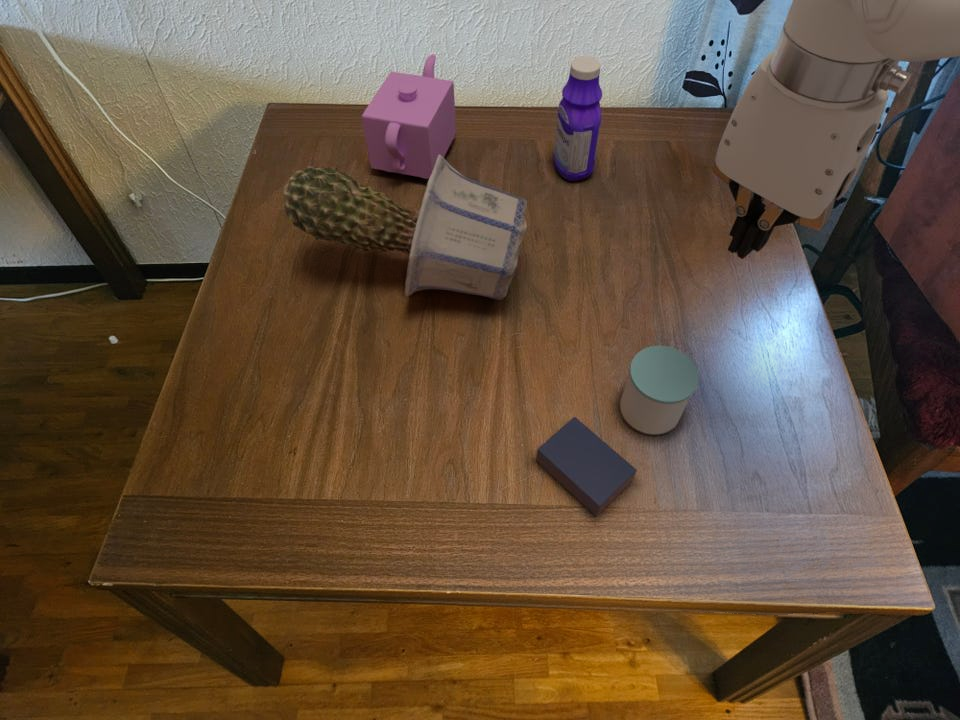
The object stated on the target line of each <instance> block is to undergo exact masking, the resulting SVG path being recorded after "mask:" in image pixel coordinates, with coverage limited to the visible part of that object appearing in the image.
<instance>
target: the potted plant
mask: <svg viewBox="0 0 960 720" xmlns="http://www.w3.org/2000/svg"><path fill="white" fill-rule="evenodd" d="M283 187H284V188H283V206H282V207H283V209H284V212H285V215H286V218H287V219H290V220H291V221H292V224H293V226H294V227H296V228H298V229H299V230H300V231H302V232H305V233H306V234H308V235H311V236H312V237H314V238H315V240H318V239H319V240H321V241H328V242H337V243H340V244H342V245H347V246H351V247H353V248H354V249H355V251H357V250H361V251H363V252H368V251H370V252H372V251H373V250H379V251H381V252H382V253H386V252H391V251H392V252H393V251H398V252H401V253H404V254H406V256H407V257H408V261H407V269H406V277H405V285H404V287H405V288H404V297H407V298H408V297H410V296H412V295H413V294H414V293H416V292H419V291H423V290H444V291H451V292H456V293H461V294H462V293H463V294H468V295H475V296H482V297H487V298H489V299H492V300H499V301H502V300H504V299H505V297H506V296H507V295H508V292H509V290H510V286H511V285H512V280H513V279H514V277H515V275H516V271H517V267H518V264H519V263H518V261H519V257H520V252H521V248H522V245H523V240H524V235H525V233H526V231H527V225H528V224H527V218H526V216H527V215H526V213H527V209H528V205H529V203H528V200H526V199H525V198H522V197H519V196H517V195H516V196H515V195H513V194H511V193H508V192H505V191H503V190H500V189H497V188H495V187H492V186H489V185H485V184H482V183H480V182H477V181H475V180H472V179H470V178H468V177H466V176H465V175H463V174H462V173H460V172H459V170H457V169H456V168H455V167H453V166H452V165H451V164H450V163H449V162H448V161H447V159H445V157H444V158H443V157H442V156H441V155H438V157H437V160H436V163H435V166H434V168H433V171H432V174H431V176H430V178H429V179H428V180H427V183H426V188H425V191H424V194H423V198H422V202H421V204H420V205H419V207H417V208H416V209H415V210H412V211H411V210H410V209H408V208H406V207H405V206H403V205H401V204H400V203H398V202H396V201H395V200H394V199H393V197H392V196H390V195H388V194H385V192H380V191H378V190H376V189H374V188H373V187H372V186H371V185H369V186H368V185H363V184H361V181H359V180H357V179H355V178H354V176H353V175H352V174H347V173H346V172H345V173H344V172H343V171H339V170H338V166H332V167H324V166H321V167H318V166H311V165H310V166H309V165H307V167H305V168H304V169H300V170H297V171H295V172H294V173H293V174H292V175H291V176H290V177H289V179H288V182H287V183H286V184H285V186H283Z"/></svg>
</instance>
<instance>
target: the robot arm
mask: <svg viewBox="0 0 960 720" xmlns="http://www.w3.org/2000/svg"><path fill="white" fill-rule="evenodd" d="M781 28H782V29H781V31H780V33H779V36H778V38H777V41H776V44H775V47H774V49H773V50H771V51H770V52H769V53H768V54H767V55H766V56H765V57H763V59H762V60H761V61H760V63H759V64H758V66H757V67H756V69H755V71H754V73H753V74H752V76H751V78H750V79H749V81H748V83H747V85H746V86H745V88H744V90H743V92H742V94H741V95H740V98H739V99H738V101H737V103H736V105H735V107H734V109H733V111H732V113H731V115H730V118H729V120H728V122H727V124H726V127H725V129H724V132H723V134H722V136H721V139H720V141H719V144H718V148H717V150H716V154H715V162H714V163H713V165H712V168H711V170H712V173H714V174H715V175H716V176H717V177H718V178H719V179H720V180H721V181H722V182H724V183H725V184H728V188H729V190H730V193H731V195H732V197H733V199H734V201H735V204H734V213H735V215H736V216H735V217H736V218H735V220H734V223H733V224H732V226H731V230H730V232H729V236H730V237H731V241H730V242H729V245H728V248H727V251H728V252H730V253H731V254H734V253H735V254H736V255H737V257H738V258H740V260H744V259H745V258H746V257H748V255H750V253H752V252H753V251H755V252H756V253H758V252H760V251H761V250H762V249H763V248H764V247H765V246H766V244H767V243H768V241H769V239H770V237H771V235H772V233H773V231H774V229H775V227H781V226H785V225H790V224H791V225H792V224H794V223H795V224H798V226H801V227H804V228H807V229H811V230H812V231H813V230H814V231H821V230H822V229H823V228H824V227H825V226H826V225H828V224H829V223H830V221H831V219H832V215H833V210H834V207H835V202H836V200H837V201H839V200H841V199H842V197H843V196H844V195H845V194H846V193H847V192H848V190H849V189H850V187H851V185H852V183H853V181H854V180H855V178H856V176H857V174H858V172H859V170H860V168H861V166H862V164H863V162H864V160H865V158H866V156H867V153H868V152H869V150H870V147H871V144H872V142H873V140H874V138H875V136H876V133H877V131H878V129H879V126H880V123H881V121H882V118H883V115H884V112H885V109H886V106H887V102H888V98H889V91H891V92H893V93H895V94H900V93H901V92H902V91H903V90H904V88H905V87H906V85H908V82H909V81H910V80H911V77H912V73H910V72H908V71H906V70H904V69H903V66H900V65H899V63H900V62H906V63H919V62H928V61H938V60H944V59H953V58H957V57H960V0H792V2H791V4H790V7H789V10H788V12H787V15H786V18H785V21H784V23H783V26H782V27H781ZM764 200H767V201H769V202H770V203H769V204H768V205H767V207H766V204H764V203H763V202H764Z"/></svg>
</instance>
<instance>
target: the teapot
mask: <svg viewBox="0 0 960 720" xmlns="http://www.w3.org/2000/svg"><path fill="white" fill-rule="evenodd" d="M436 60H437V56H436V55H435V54H430V55H429V56H428V57H427V58H426V60H425V62H424V65H423V71H422V74H421V75H417V74H411V73H404V72H398V71H392V70H391V71H390V72H389V74H388V75H387V76H386V78H385V80H384V81H383V82H382V84H381V85H380V86H379V88H378V90H377V91H376V93H375V94H374V96H373V98H372V99H371V101H370V102H369V104H368V105H367V107H366V108H365V110H364V111H363V113H362V115H361V122H362V123H361V124H362V128H363V133H364V138H365V144H366V149H367V154H368V160H369V166H370V169H375V170H379V171H385V172H387V173H396V174H401V175H407V176H413V177H416V178H417V177H418V178H421V179H424V180H429V178H430V176H431V174H432V171H433V168H434V166H435V163H436V160H437V157H438V155H441V156H442V157H443V158H444V159H445V156H446V154H447V152H448V150H449V148H450V146H451V144H452V142H453V141H454V138H455V136H456V134H457V123H456V104H455V103H456V101H455V84H454V80H448V79H442V78H436V77H435V65H436Z"/></svg>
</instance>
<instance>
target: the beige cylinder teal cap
mask: <svg viewBox="0 0 960 720" xmlns="http://www.w3.org/2000/svg"><path fill="white" fill-rule="evenodd" d="M699 383H700V373H699V370H698V367H697V365H696V364H695V362H694V361H693V360H692V358H690V356H688V355H687V354H686V353H684V352H683V351H681V350H679V349H678V348H675V347H672V346H667V345H652V346H647V347H644V348H643V349H641V350H640V351H638V352H637V353H636V354H635V355H634V357H633V358H632V360H631V362H630V366H629V373H628V375H627V379H626V383H625V386H624V388H623V392H622V395H621V398H620V402H619V413H620V416H621V418H622V420H623V422H624V423H625V424H626V425H627V426H628V427H629V428H630V429H631V430H633V431H635V432H636V433H638V434H640V435H643V436H648V437H660V436H663V435H666V434H668V433H670V432H672V431H673V430H674V429H675V428H676V427H677V425H678V423H679V421H680V419H681V417H682V415H683V414H684V411H685V409H686V407H687V405H688V403H689V401H690V399H691V397H692V396H693V395H694V394H695V392H696V391H697V388H698V386H699Z"/></svg>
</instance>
